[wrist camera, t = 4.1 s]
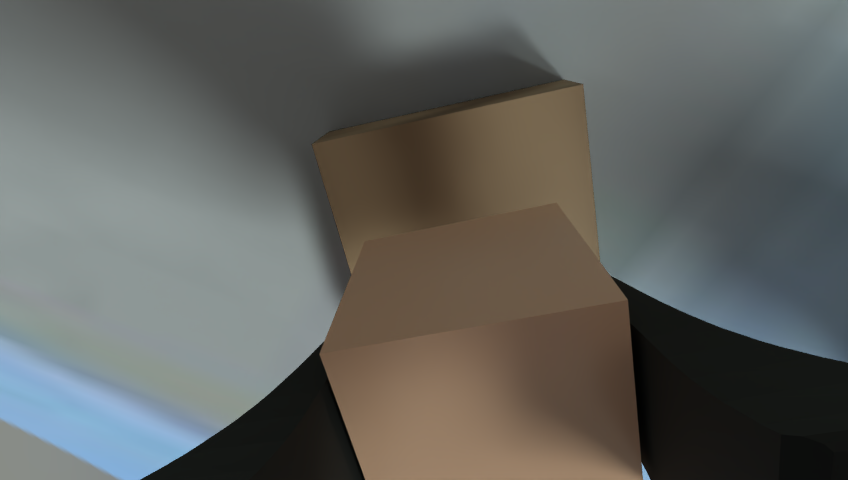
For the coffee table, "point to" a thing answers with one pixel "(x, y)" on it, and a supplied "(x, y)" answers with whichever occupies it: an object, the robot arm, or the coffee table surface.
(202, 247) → the coffee table surface
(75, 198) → the coffee table surface
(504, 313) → the cube
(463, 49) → the coffee table surface
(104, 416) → the coffee table surface
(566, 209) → the tan flat block
